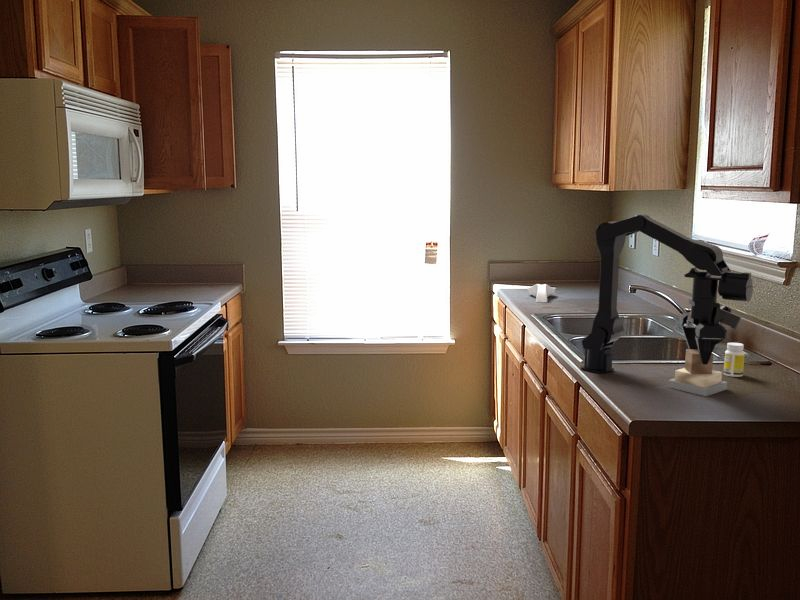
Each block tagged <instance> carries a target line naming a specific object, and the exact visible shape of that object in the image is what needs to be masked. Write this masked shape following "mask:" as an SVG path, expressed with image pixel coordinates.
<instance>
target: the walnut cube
mask: <svg viewBox="0 0 800 600" xmlns="http://www.w3.org/2000/svg"><path fill="white" fill-rule="evenodd" d="M684 360H685V361H684V368H685V369H686V370H687V371H688V372H689V373H691V374H712V370H713V364H714V353H712V354H711V357H710V359H709V362H708V364H707V365H706V364H702V361H701V357H700V354H699V350H698V349H689V348H686V349H685V359H684Z"/></svg>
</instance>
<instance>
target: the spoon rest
mask: <svg viewBox="0 0 800 600" xmlns="http://www.w3.org/2000/svg"><path fill="white" fill-rule="evenodd" d="M527 291H528V292H529V294H530V295H532V296H533V297H535V302H536V303H544V304H546V303H548V298H549V297H550V296H552V295H553V293H555V291H556V288H554V287H552V286H550V285H548V284H547V283H544V284H540V283H536V284H534V285H532V286H530V287H527Z"/></svg>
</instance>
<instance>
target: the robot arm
mask: <svg viewBox="0 0 800 600" xmlns="http://www.w3.org/2000/svg"><path fill="white" fill-rule="evenodd" d="M639 232H640V233H642V234H644V235H645V236H648V237H650V238H651V239H654V240H655V241H657V242H659V243H660V244H663V245H665V246H667V247H669V248H670V249H672V250H674V251H676V252H677V253H679V254H680V255H681V256H682V257H683V258H684V259H685V260H686V261H687V262H689V264H690V265H692V266H694V267H691V268H690V270H689V271H688V272H687V273H685V274H684V275H683V276H684V278H688V279H689V278H690V279H692V289H691V299H690V298H689V299H688V304H689V305H690V312H683V313H681V315H679V320H678V323H679V324H680V328H681V331H682V333H683V336H684V338H685V342H686V344H687V347H688V349H698V350H699V354H700V357H701V361H702V364H706V365H707V364H708V362H709V359H710V357H711V354H713V351H714V349H715V347H716V345H718V344H719V343H720V342H723V341H724V340H726V339H728V338H727V337H728V330H727V329H726V328H725V327H724V325H726V326H728V327H730V328H732V329H734V330H736V329H737V328H738V325H739V323H740V321H741V319H742V317H741V316H740V315H738V314H735V313H734V312H732V309H731V308H730V307H728V306H726V305H724V304H723V305H721V304H720V302H718V295H719V296H720V297H722V299H723V300H728V301H738V302H746V303H749V302H750V301H751V299H752V295H753V291H754V285H753V279H752V272H747V271H746V272H735V271H731V269H730V267H729V265H728V264H727V263H726V261H725V260H724V253H723V250H722V249H721V248H720V247H719V246H717V245H715V244H712V243H709V242H705V241H702V240H697V239H694V238H690V237H688V236H686V235H684V234H682V233H681V232H679V231H676V230H674V229H673V228H671V227H669V226H667V225H665V224H663V223H661V222H660V221H657V220H656V219H653V218H652V217H651V216H650V215H648V214H636V215H634V216H633V217H629V218H626V219H623V220H620V221H606V222H602V223H600V224H598V226H597V227H596V229H595V241H596V247H597V250H598V252H599V255H600V265H599V267H600V268H599V285H598V286H599V288H598V291H599V292H598V309H597V312H596V313H595V316H594V319H593V321H592V326H591V329H590V330H591V331H590V334H588V335H587V336H586V337H585V338H583V339H582V340H581V345H582V349H584V362H583V363H584V364H583V366H580V370H584V371H588V372H591V373H592V372H593V373H597V374H604V373H607V372H612V371H614V370H615V368H614V367H613V354H612V348H611V347H614V344H615V342H616V341H618V340H619V339H620V338H621V337H622V333H623V332H625V329H624V322H625V321H624V320H625V317H624V316H620V315H619V312H618V309H617V306H618V286H619V283H618V282H619V267H620V266H619V265H620V264H619V263H620V256H621V252H622V250H623V248H624V246H625V242H626V238H627V237H629V236H630V235H634V234H637V233H639ZM720 323H721V324H720ZM722 324H724V325H722Z"/></svg>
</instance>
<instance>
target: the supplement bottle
mask: <svg viewBox="0 0 800 600" xmlns="http://www.w3.org/2000/svg"><path fill="white" fill-rule="evenodd" d="M745 356H746V355H745V351H744V344H743V343H740V342H727V345H726V350H725V351H724V361H723V375H724V376H725V377H726V376H727V377H733V378H739V377H743V375H744V366H745Z"/></svg>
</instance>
